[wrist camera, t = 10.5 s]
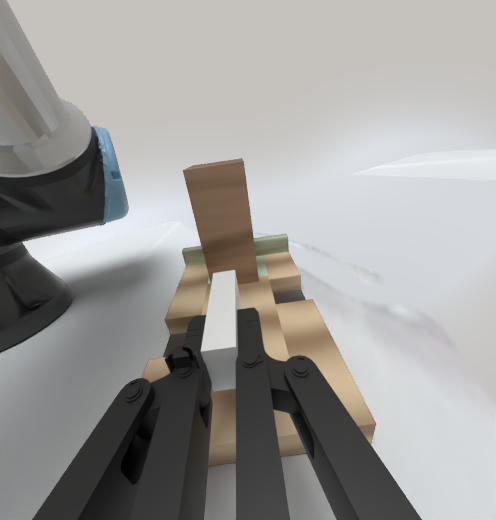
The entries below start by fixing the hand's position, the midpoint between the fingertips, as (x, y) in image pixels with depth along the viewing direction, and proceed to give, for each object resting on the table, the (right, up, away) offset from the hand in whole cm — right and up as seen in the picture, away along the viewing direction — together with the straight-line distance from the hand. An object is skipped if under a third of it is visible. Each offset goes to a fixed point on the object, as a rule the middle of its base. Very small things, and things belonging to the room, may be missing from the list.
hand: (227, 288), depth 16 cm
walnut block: (0, 0, +15) cm, 15 cm away
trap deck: (+1, -6, +9) cm, 11 cm away
